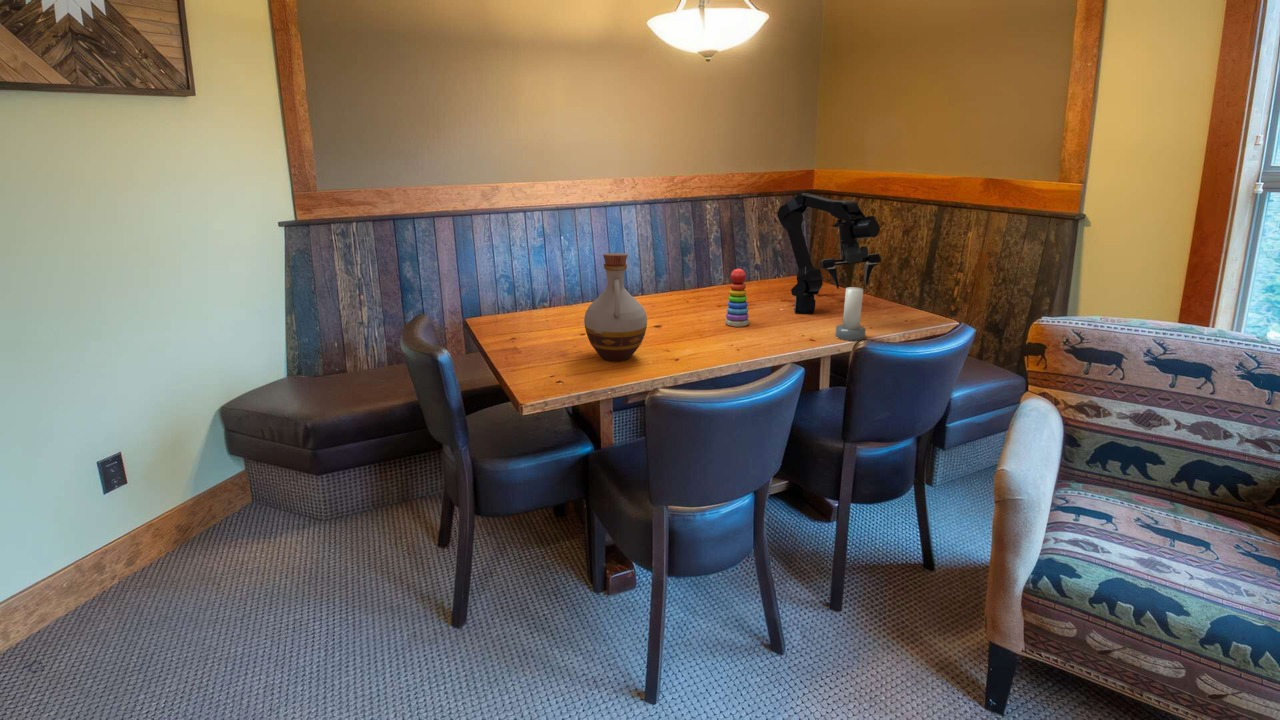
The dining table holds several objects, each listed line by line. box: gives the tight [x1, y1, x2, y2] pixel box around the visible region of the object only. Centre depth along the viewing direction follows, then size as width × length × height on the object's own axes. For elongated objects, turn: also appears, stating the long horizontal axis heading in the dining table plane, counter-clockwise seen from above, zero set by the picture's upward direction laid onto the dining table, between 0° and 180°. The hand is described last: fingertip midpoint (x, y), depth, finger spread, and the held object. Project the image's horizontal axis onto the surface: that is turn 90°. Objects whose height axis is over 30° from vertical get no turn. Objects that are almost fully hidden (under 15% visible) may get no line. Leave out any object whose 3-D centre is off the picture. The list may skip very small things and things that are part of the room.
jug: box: [583, 252, 648, 363], centre depth 202 cm, size 20×18×30 cm
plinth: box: [835, 323, 866, 342], centre depth 229 cm, size 9×9×3 cm
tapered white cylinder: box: [842, 286, 864, 330], centre depth 226 cm, size 5×5×12 cm
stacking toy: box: [724, 268, 750, 328], centre depth 240 cm, size 8×8×19 cm
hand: (852, 287), depth 240 cm, fingers open, 9 cm apart
